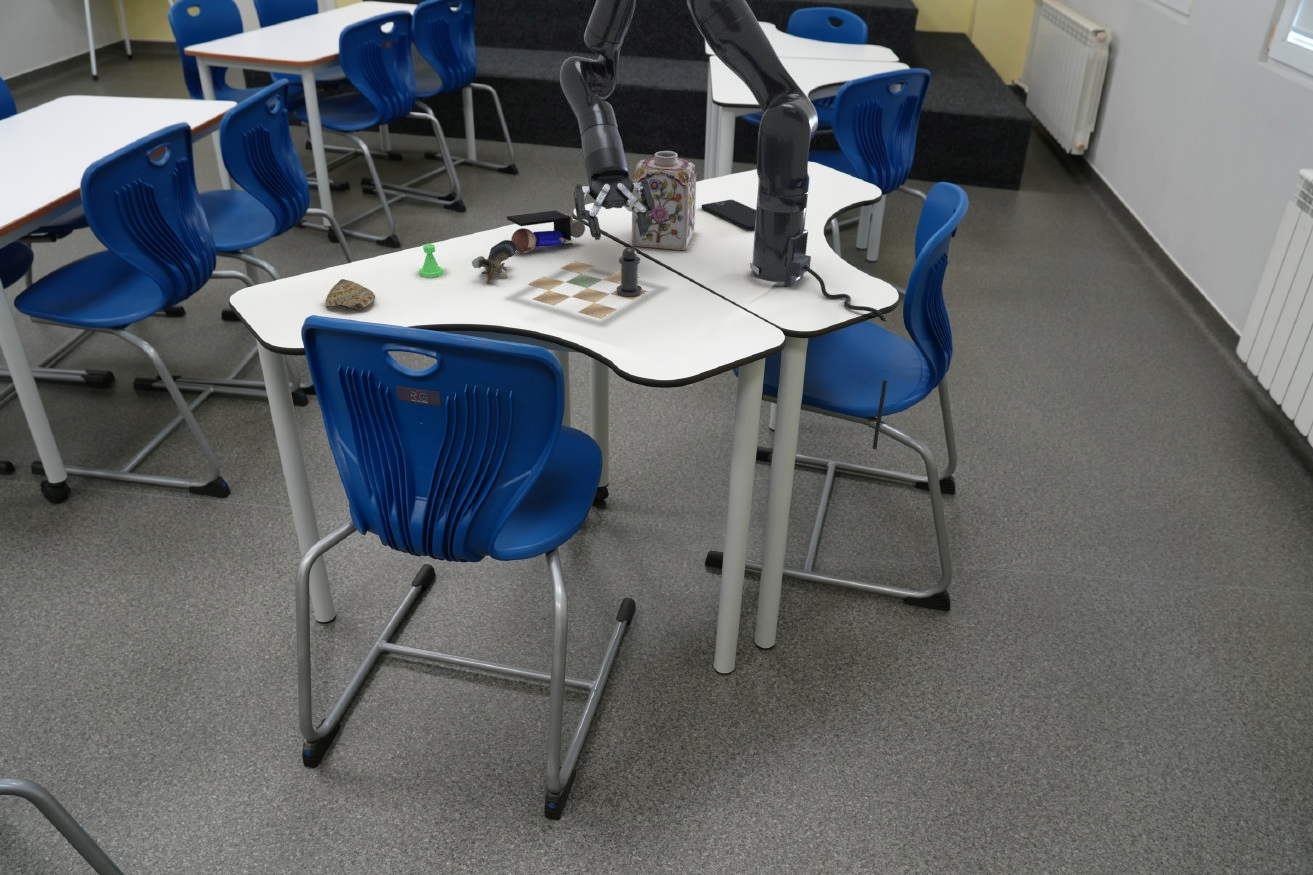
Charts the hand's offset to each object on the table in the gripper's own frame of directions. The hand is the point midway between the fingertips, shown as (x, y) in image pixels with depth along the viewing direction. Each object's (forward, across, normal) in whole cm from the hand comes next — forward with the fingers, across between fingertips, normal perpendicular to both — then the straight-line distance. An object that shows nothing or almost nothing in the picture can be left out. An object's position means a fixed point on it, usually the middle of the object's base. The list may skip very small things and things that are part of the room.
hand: (621, 236), depth 177 cm
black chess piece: (+10, 0, +2) cm, 10 cm away
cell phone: (-17, +37, +31) cm, 51 cm away
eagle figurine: (-1, -21, +15) cm, 26 cm away
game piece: (-4, -33, +18) cm, 38 cm away
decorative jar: (-9, +16, +23) cm, 30 cm away
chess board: (+8, -7, +6) cm, 12 cm away
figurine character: (-10, -9, +24) cm, 28 cm away
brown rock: (+4, -48, +10) cm, 49 cm away
